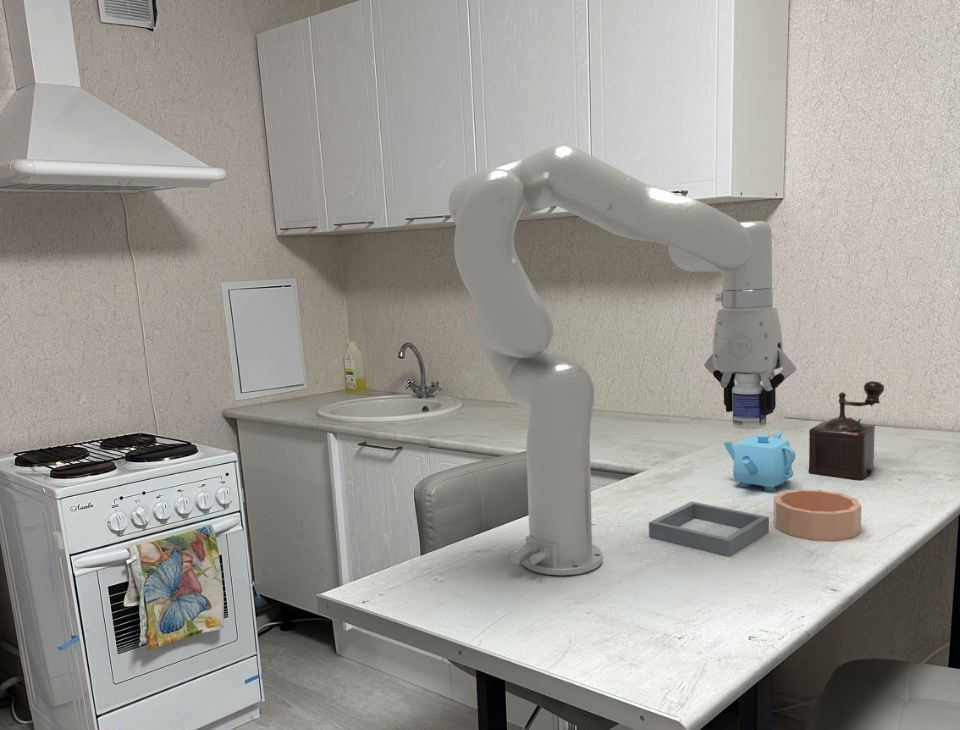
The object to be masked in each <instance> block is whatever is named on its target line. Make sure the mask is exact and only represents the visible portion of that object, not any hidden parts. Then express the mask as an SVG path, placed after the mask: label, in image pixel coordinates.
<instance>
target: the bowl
mask: <svg viewBox="0 0 960 730" xmlns="http://www.w3.org/2000/svg"><path fill="white" fill-rule="evenodd" d="M772 517H773V521H774V522H773V524H774V527H775V529H776V530H779V531H781V532H783V533H785V534H787V535H788V536H792V537H796V538H802V539H807V540H811V541H831V542H832V541H833V542H834V541H841V540H847V539H848V540H849V539H853V538H855V537H856V536H857V535H859V534H860V533H861V532H862V527H861V526H862V504H861V503H860V502H859V501H858V499H856V498H855V497H851V496H849V495H847V494H845V493H844V494H843V493H842V492H841V493H839V492H834V491H830V490H823V489H792V490H786V491H785V490H783V491H781V492H779V493H777V494H775V495H774V496H773V516H772Z"/></svg>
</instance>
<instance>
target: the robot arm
mask: <svg viewBox="0 0 960 730" xmlns="http://www.w3.org/2000/svg"><path fill="white" fill-rule="evenodd" d="M552 207H553V208H554V207H558V208H560V209H563V210H565V211H567V212H568V213H571V214H573V215H575V216H576V217H577V216H578V217H579V218H581V219H583V220H585V221H587V222H590V223H591V224H594V225H595V226H598V227H599V228H601V229H603V230H606V231H607V232H609V233H611V234H613V235H616V236H618V237H623V238H626V239H630V240H637V241H645V242H652V243H658V244H662V245H664V246H665V245H666V246H668V253H669V257H670V260H671V261H672V262H673V263H674V264H675V266H677V268H679V269H682V270H684V271H687V272H691V273H707V272H711V273H712V272H713V273H714V272H716V273H717V272H718V273H721V275H722V277H721V279H722V282H721V283H722V290H721V292H720V293H716V294H715V298H714V299H715V301H716V302H718V303H721V306H722V309H717V313H716V319H715V324H714V331H713V332H714V333H713V341H712V342H713V345H712V354H711V355H710V356H709V358H707V360H706V361H705V362H704V368H705V369H706V370H707V371H708V372H710V374H712V375H713V377H714V378H715V379H716V380H717V381H718V383H719V385H720V387H721V388H723V405H724V406H725V412H726V413H731V412H733V411H732V388H733V387H734V386H735V385H736V384H735V382H736V372H744V373H760V376H761V380H762V381H761V383H762V385H763V386H764V390H763V391H761V414H762V415H765V416H766V417H767V416H768V415H770V414H773V413H774V410H775V409H776V407H777V403H776V399H777V398H776V391H777V390H776V389H777V388H778V387H779V386H780V385H782V383H783V382H784V381H785V380H786V379H787V378H789V377H790V376H791V375H792V374H793V373H795V372H796V371H797V366H796V365H795V364H794V362H793V361H792V360H791V359H790V358H789V357H788V356H787V355H786V353H785V352H784V345H783V344H784V342H783V334H782V327H781V323H780V316H779V313H778V309H777V308H776V307H774V305H773V304H774V303H773V301H774V300H773V296H774V295H773V246H772V245H773V235H772V234H773V233H772V232H773V231H772V228H771V225H770V223H768V222H767V221H761V220H757V221H756V220H754V221H753V220H752V221H738V220H737V219H736V218H733V217H732V216H730V215H728V214H726V213H724V212H722V211H720V210H719V209H717V208H715V207H713V206H711V205H709V204H707V203H704V202H703V201H699V200H698V199H697V200H696V199H693V198H691V197H688V196H686V195H685V196H684V195H682V194H679V193H675V192H672V191H670V190H667V189H663V188H662V187H658V186H655V185H651V184H648V183H645V182H642V181H640V180H639V179H637V178H635V177H633V176H631V175H629V174H627V173H625V172H624V171H621V170H619V169H617V168H616V167H614V166H613V165H612V166H611V165H610V164H608V163H607V162H604V161H602V160H600V159H598V158H596V157H595V156H593V155H591V154H589V153H587V152H585V151H583V150H582V149H579V148H577V147H575V146H571V145H569V144H556V145H552V146H551V147H548V148H544V149H543V150H540V151H537V152H535V153H533V154H530V155H528V156H524V157H522V158H521V159H518V160H515V161H513V162H510V163H508V164H504V165H501V166H498V167H494V168H493V167H492V168H487V169H484V170H481V171H478V172H476V173H474V174H472V175H469V176H466V177H465V178H463V179H461V180H460V181H458V182H457V184H456V185H454V187H453V189H452V190H451V192H450V195H449V199H448V211H449V214H450V217H451V219H452V221H453V222H454V223H455V225H456V226H455V231H454V242H453V243H454V244H453V251H454V259H455V264H456V267H457V270H458V273H459V275H460V277H461V280H462V282H463V284H464V286H465V287H466V290H467V292H468V293H469V295H470V297H471V299H472V301H473V303H474V305H475V307H476V308H475V311H474V314H473V319H472V325H473V326H472V328H473V332H474V334H475V338H476V340H477V343H478V345H479V347H480V348H481V350H482V352H483V354H484V356H485V357H486V359H487V360H488V362H489V364H490V366H491V368H492V369H493V371H494V372H495V374H496V375H497V377H498V379H499V380H500V383H501V384H502V385H503V387H504V389H505V390H506V391H507V393H508V395H509V396H510V397H511V398H512V400H513V401H515V402H516V403H517V404H519V405H520V406H521V407H523V408H524V409H527V410H529V422H528V428H527V433H526V434H527V435H526V471H527V472H526V473H527V474H526V477H527V501H528V504H527V505H528V528H529V529H528V535H527V536H525V544H524V545H523V546H522V548H519V549H516V550H514V551H512V552H510V554H509V560H510V562H511V563H512V564H513V565H515V566H517V565H519V564H521V565H522V566H523V567H524V568H526V569H527V570H530V571H532V572H535V573H538V574H542V575H546V576H547V575H548V576H549V575H551V576H573V575H580V574H586V573H588V572H591V571H593V570H595V569H598V567H600V566H601V565H602V563H603V551H602V550H601V549H600V548H599V547H598V546H596V545H595V544H593V525H592V479H591V478H592V477H591V476H592V475H591V474H592V471H591V426H592V425H591V424H592V417H593V412H594V411H593V410H594V403H595V387H594V383H593V382H594V381H593V379H592V377H591V374H590V373H589V372H588V370H587V369H586V367H584V365H582V364H581V363H580V362H578V361H577V360H575V359H574V358H571V357H568V356H565V355H561V354H557V353H553V352H552V351H551V350H550V348H549V347H550V345H551V343H552V339H553V335H554V324H553V321H552V318H551V315H550V313H549V311H548V310H547V308H546V307H545V304H544V303H543V301H542V299H541V298H540V296H539V294H538V293H537V291H536V289H535V288H534V286H533V284H532V282H531V280H530V278H529V277H528V275H527V273H526V271H525V269H524V267H523V265H522V263H521V260H520V259H519V257H518V255H517V251H516V247H515V231H516V227H517V223H518V222H519V220H520V219H522V218H525V217H527V216H530V215H532V214H535V213H537V212H540V211H542V210H545V209H548V208H552ZM781 368H782V369H781ZM779 369H781V371H779V372H778V373H776V372H775V370H779Z"/></svg>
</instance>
